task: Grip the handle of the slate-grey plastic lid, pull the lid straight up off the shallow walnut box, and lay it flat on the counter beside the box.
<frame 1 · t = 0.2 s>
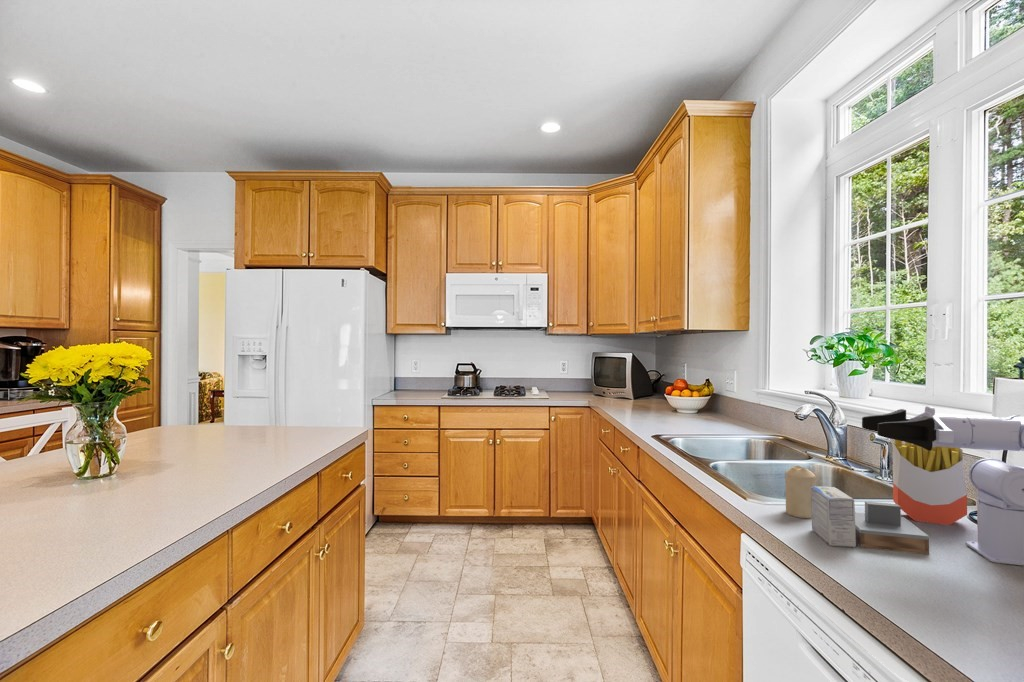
hand: (870, 425, 89), 21 cm above the table, tool horizontal, fingers open, 7 cm apart
french fries container: (929, 520, 100), on the table
box: (882, 539, 90), on the table
candle: (800, 515, 104), on the table
medicine box: (832, 539, 91), on the table
lid: (882, 526, 90), point 2 cm above the table, touching box
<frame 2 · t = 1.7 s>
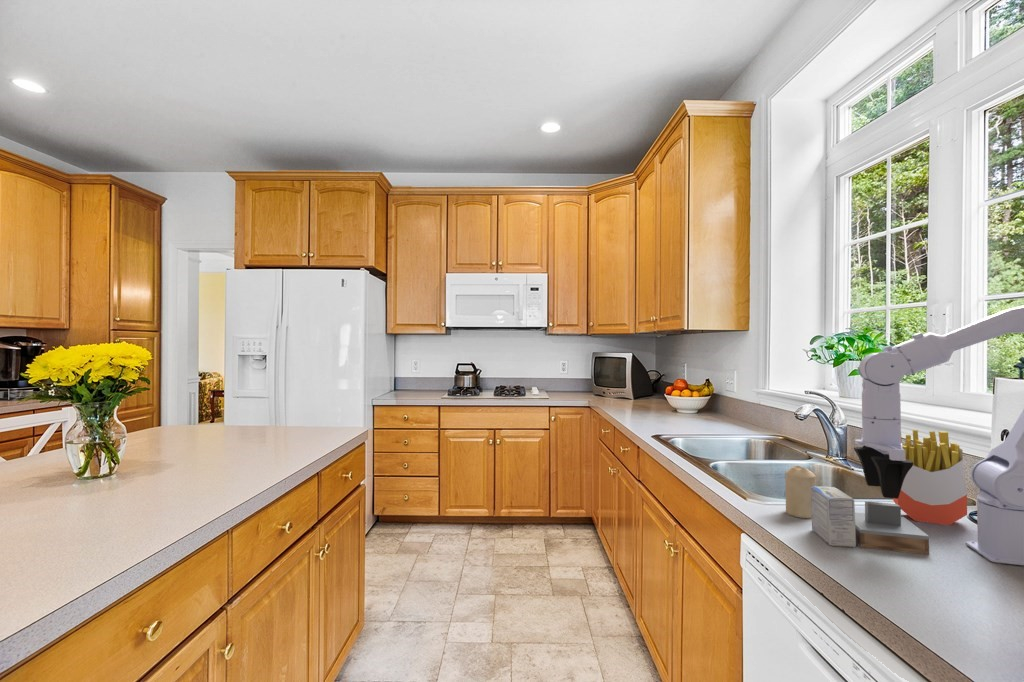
hand: (881, 491, 90), 9 cm above the table, tool pointing down, fingers open, 7 cm apart
nothing on the table moved.
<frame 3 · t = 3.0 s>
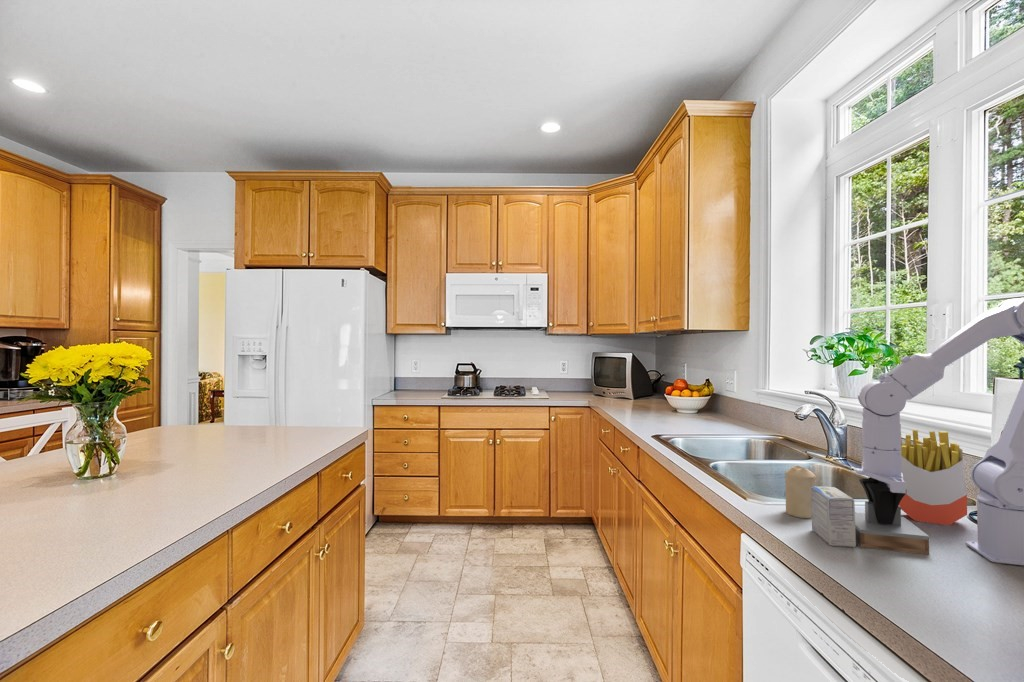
hand: (882, 521, 90), 3 cm above the table, tool pointing down, fingers closed on lid
lid: (882, 526, 90), point 2 cm above the table, touching box, gripper
everything else where it was.
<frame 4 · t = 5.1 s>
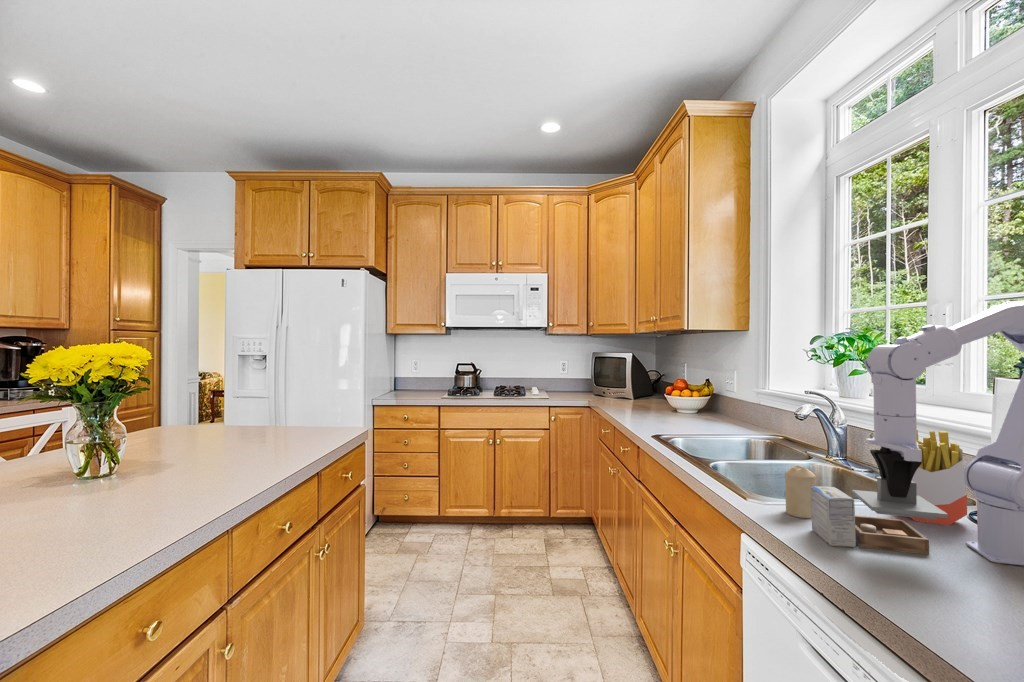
hand: (895, 494, 83), 10 cm above the table, tool pointing down, fingers closed on lid
lid: (896, 504, 83), point 9 cm above the table, touching gripper
everything else where it was.
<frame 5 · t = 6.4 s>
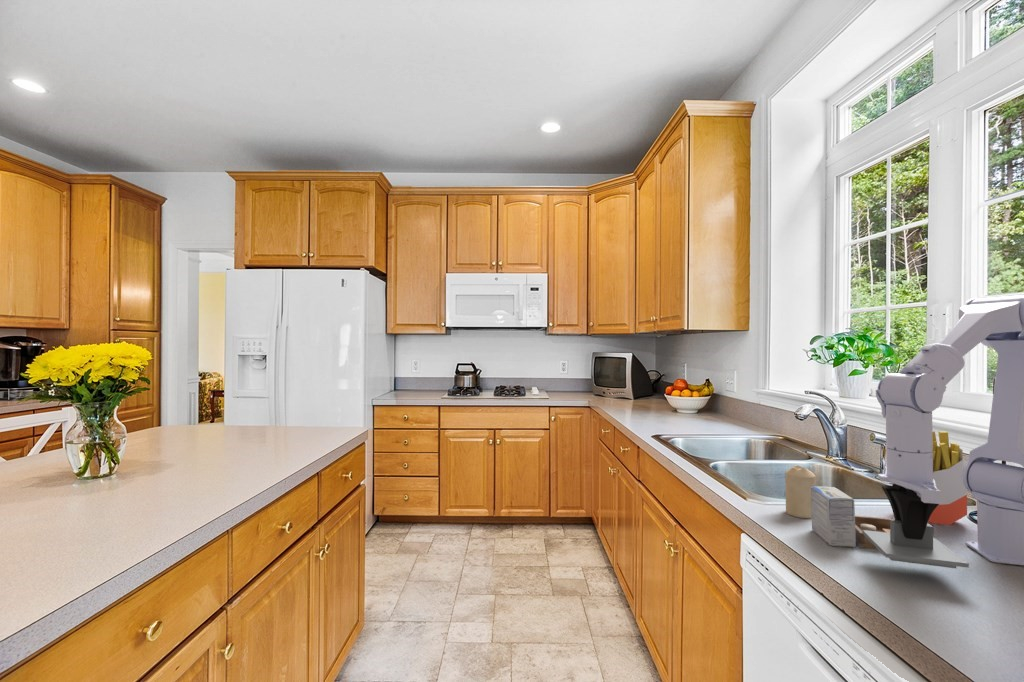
hand: (910, 535, 77), 6 cm above the table, tool pointing down, fingers closed on lid
lid: (911, 549, 77), point 4 cm above the table, touching gripper
everything else where it was.
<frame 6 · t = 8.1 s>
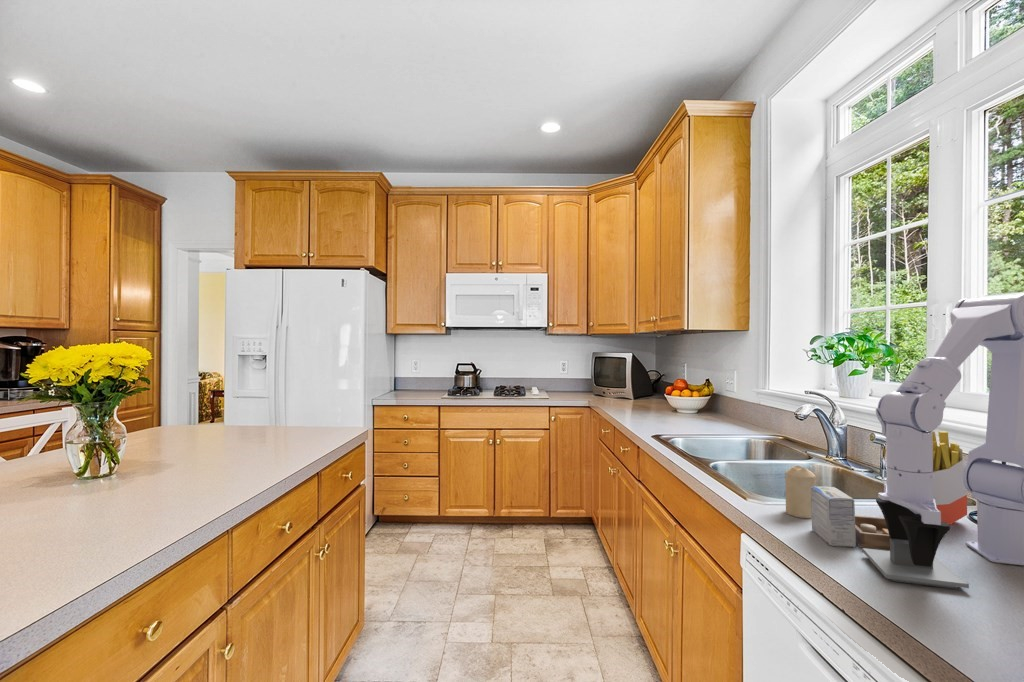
hand: (910, 554, 77), 3 cm above the table, tool pointing down, fingers open, 7 cm apart
lid: (911, 568, 77), point 1 cm above the table
everything else where it was.
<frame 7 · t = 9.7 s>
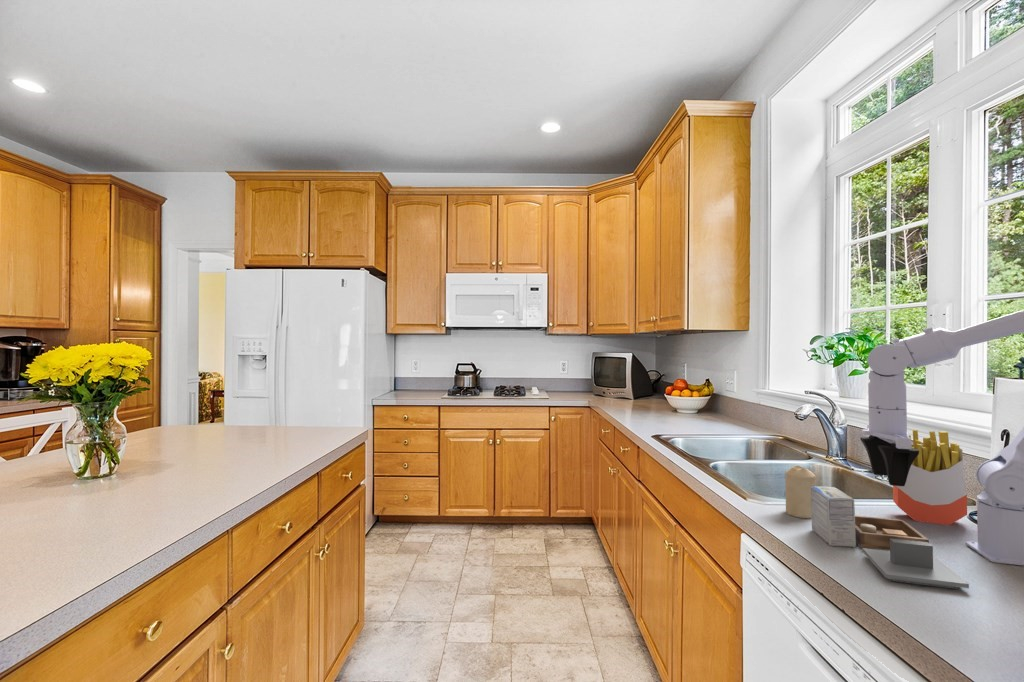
hand: (888, 479, 92), 10 cm above the table, tool pointing down, fingers open, 7 cm apart
nothing on the table moved.
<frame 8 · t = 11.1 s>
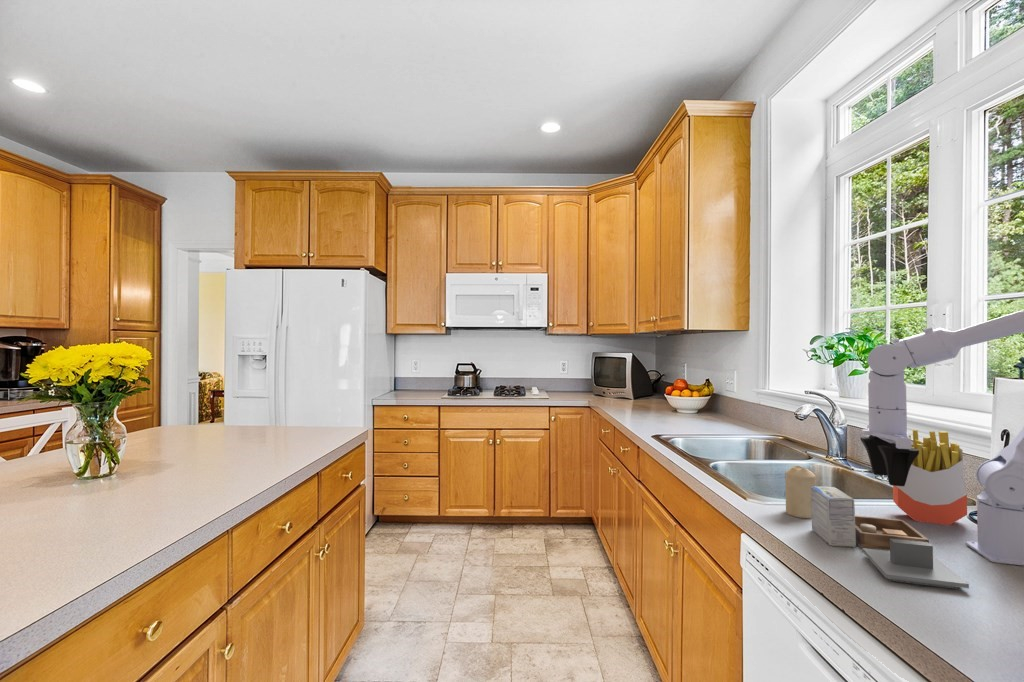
hand: (888, 479, 92), 10 cm above the table, tool pointing down, fingers open, 7 cm apart
nothing on the table moved.
at the end: lid inside the target area (0.1 cm from its centre), point 0.7 cm above the table; lid tilted 0°; lid touching table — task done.
